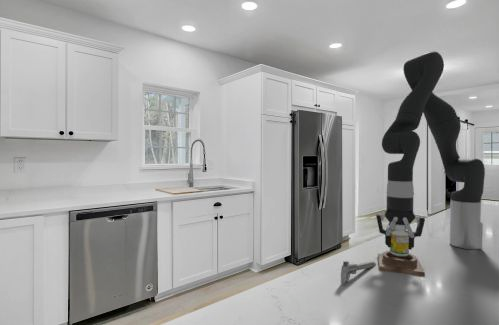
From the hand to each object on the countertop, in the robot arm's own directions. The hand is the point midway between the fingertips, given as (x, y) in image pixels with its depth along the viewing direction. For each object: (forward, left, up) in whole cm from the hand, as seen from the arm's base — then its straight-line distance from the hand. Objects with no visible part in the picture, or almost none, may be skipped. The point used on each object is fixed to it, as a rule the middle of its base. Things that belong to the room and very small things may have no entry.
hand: (399, 247), depth 92 cm
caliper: (+11, +11, -6) cm, 17 cm away
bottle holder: (0, 0, -6) cm, 6 cm away
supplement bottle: (0, 0, -2) cm, 2 cm away
